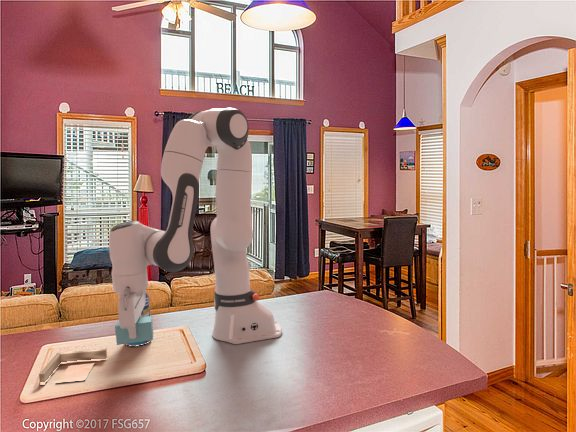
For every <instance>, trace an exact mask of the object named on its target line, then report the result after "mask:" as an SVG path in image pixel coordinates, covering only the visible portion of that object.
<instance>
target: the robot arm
mask: <svg viewBox="0 0 576 432" xmlns="http://www.w3.org/2000/svg"><path fill="white" fill-rule="evenodd" d="M249 131H250V130H249V122H248V119H247V116H246V115H245V113H244V112H243V111H241V110H240V109H237V108H234V107H226V108H219V107H218V108H210V109H207V110H203V111H197V112H194V113H192V114H191V115H190V116H188V117H187V119H180V120H179V121H177V122H176V123H175V125H174V127H173V128H172V130H171V132H170V134H169V137H168V139H167V143H166V145H165V148H164V151H163V155H162V158H161V159H162V160H161V163H160V164H161V165H160V176H161V179H162V180H163V182H164V183H165V184H166V185H167V187H168V188H169V189H170V191H171V195H172V204H171V209H170V212H169V213H170V214H169V220H168V226H167V228H166V230H162V229H157V228H154V227H150V226H147V225H144V224H143V223H141V222H140V221H138V220H130V221H125V222H124V221H123V222H120V223H119V224H115V225H114V226H113V227H112V228H111V229H110V232H109V234H108V235H109V238H108V246H109V247H108V248H109V250H108V251H109V259H110V262H111V264H112V265H111V267H112V269H111V280H112V281H111V282H112V290H113V291H112V292H114V293H116V294H118V297H119V298H118V304H117V307H118V308H117V309H118V311H117V312H118V320H119V325H120V328H121V329H125V328H127V330H128V332H129V338H130V339H133V338H136V337H137V330H136V323H137V321H138V319H139V318H140V317H141V312H142V310H143V308H144V306H145V302H146V293H147V289H148V288H149V279H148V278H149V277H148V266H151V265H153V266H156V267H159V268H160V269H162V270H164V272H168V273H177V272H180V271H182V270H184V269H185V268H187V266H188V265H189V264H190V263H191V261H192V259H193V256H194V242H193V230H194V224H195V217H196V213H197V206H198V199H199V192H200V191H199V187H200V177H201V174H202V173H201V171H202V168H203V164H204V161H205V160H204V159H205V155H206V151H207V149H208V147H211V148H213V147H215V149H216V152H217V155H218V156H217V162H216V175H215V176H216V178H215V179H216V180H215V194H214V195H215V205H216V217H214V219H213V220H212V222H211V224H210V241H211V243H210V244H211V250H212V258H213V259H212V260H213V266H214V282H215V283H214V284H215V285H214V287H215V290H214V294H213V295H214V296H213V301H214V302H213V303H214V304H213V306H214V310H215V313H214V314H215V317H214V324H213V329H212V334H211V336H212V338H214V339H215V340H217V341H221V342H226V343H230V344H233V345H240V344H246V343H251V342H258V341H263V340H264V341H265V340H269V339H274V338H280V337H281V336H282V333H283V331H282V327H281V325H280V324H279V323H278V322H276V321H275V317H274V315H273V313H272V311H271V310H270V309H269V308H268V307H267V306H264V305H263V304H262V303H260V302H259V300H260V299H259V298H260V296H259V294H258V293H257V292H256V291H255V290H254V289H251V288H250V287H251V286H250V285H251V283H250V282H251V281H250V265H249V261H248V254H247V248H249V247H250V246H251V243H253V238H254V232H253V231H254V230H253V218H252V217H253V215H252V202H251V193H252V191H251V190H252V189H251V188H252V177H253V176H252V172H253V155H252V148H251V143H250V142H249V140H248V138H249Z"/></svg>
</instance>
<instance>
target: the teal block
mask: <svg viewBox="0 0 576 432" xmlns="http://www.w3.org/2000/svg"><path fill="white" fill-rule="evenodd" d="M114 326H115V327H114V330H115V340H116V346H120V345H125V344H128V343H135V342H142V341H149V340H151V341H153V340H154V325H153V315H150V316H148V317H140V318H139V319H138V321H137V323H136V330H137V337H136V338H133V339H130V338H129V332H128V330H127V328H125V329H121V328H120V325H119V319H118V320H116V322H115V325H114Z"/></svg>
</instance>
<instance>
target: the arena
mask: <svg viewBox="0 0 576 432" xmlns="http://www.w3.org/2000/svg"><path fill="white" fill-rule="evenodd" d="M107 350H108V349H107V348H99V349H98V348H97V349H88V350H78V351H75V350H74V351H64V352H57V353H56V354H55V355H54V356H53V357H52V359H51V360H50V361H49V362H48V363H47V364H46V366H44V368H42V370H41V371H40V373H38V379H39V383H40V382H45V381H46V380H47V379H48V378H49V376H50V375H51V374H52V373H53V371H54V370H55V369H56V368H57V367H58V365H59V364H60V363H61V362H67V361H77V360H91V359H106V358H107V359H108V356H107V355H108V354H107V353H108V352H107Z"/></svg>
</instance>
